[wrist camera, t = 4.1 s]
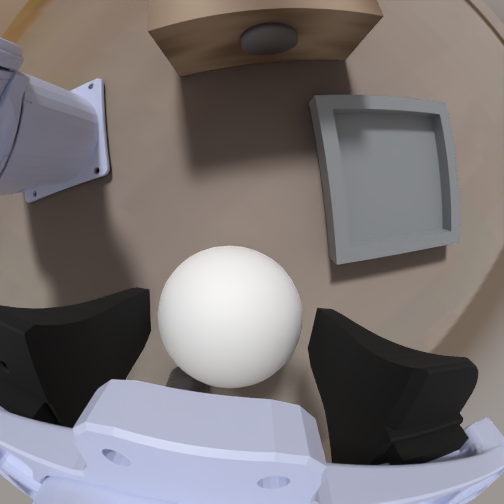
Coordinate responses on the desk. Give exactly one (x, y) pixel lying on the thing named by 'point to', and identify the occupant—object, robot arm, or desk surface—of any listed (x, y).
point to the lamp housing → (257, 30)
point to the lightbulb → (230, 316)
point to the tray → (385, 175)
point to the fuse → (185, 382)
